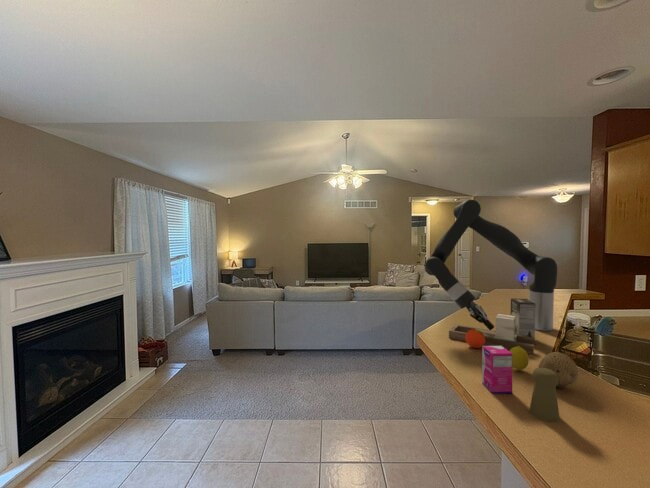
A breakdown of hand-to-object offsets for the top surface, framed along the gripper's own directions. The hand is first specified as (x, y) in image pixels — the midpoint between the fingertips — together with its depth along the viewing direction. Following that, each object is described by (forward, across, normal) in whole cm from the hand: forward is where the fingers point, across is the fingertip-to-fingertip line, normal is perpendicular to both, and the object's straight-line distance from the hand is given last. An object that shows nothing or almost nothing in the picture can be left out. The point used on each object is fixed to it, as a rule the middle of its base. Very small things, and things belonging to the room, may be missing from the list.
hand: (492, 328), depth 123 cm
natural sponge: (+18, -30, -10) cm, 37 cm away
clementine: (+1, -11, +7) cm, 13 cm away
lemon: (+11, -24, -3) cm, 27 cm away
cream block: (+5, 0, -2) cm, 5 cm away
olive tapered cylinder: (+16, -48, -8) cm, 52 cm away
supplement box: (+9, -41, 0) cm, 42 cm away
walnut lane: (+4, 0, +4) cm, 5 cm away
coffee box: (+11, +12, -3) cm, 16 cm away
